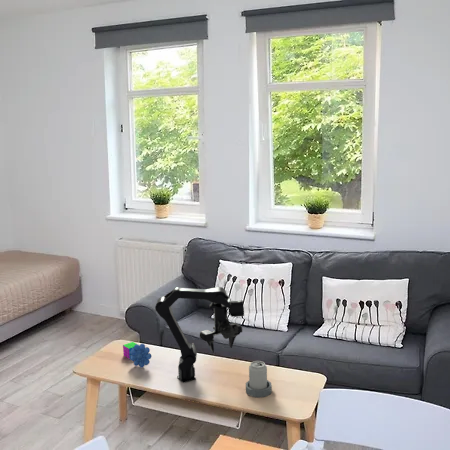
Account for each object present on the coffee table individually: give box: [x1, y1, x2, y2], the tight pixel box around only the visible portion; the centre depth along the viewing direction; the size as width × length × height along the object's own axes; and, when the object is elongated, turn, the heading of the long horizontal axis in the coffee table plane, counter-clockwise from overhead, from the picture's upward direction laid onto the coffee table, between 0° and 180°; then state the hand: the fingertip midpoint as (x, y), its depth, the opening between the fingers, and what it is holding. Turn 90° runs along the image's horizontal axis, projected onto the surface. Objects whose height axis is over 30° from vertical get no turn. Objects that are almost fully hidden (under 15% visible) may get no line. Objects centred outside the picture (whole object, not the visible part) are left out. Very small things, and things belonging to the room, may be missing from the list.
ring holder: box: [245, 379, 273, 398], centre depth 238 cm, size 11×11×3 cm
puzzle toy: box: [122, 341, 137, 360], centre depth 276 cm, size 6×6×6 cm
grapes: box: [129, 343, 152, 369], centre depth 263 cm, size 12×7×12 cm, turn 64°
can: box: [248, 360, 268, 390], centre depth 237 cm, size 8×8×12 cm
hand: (221, 350), depth 249 cm, fingers open, 9 cm apart
